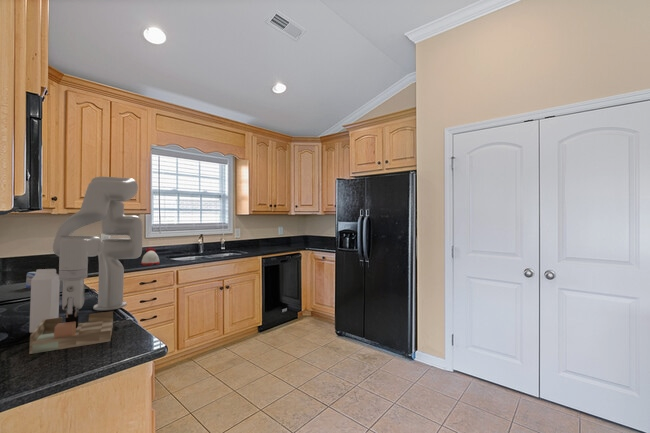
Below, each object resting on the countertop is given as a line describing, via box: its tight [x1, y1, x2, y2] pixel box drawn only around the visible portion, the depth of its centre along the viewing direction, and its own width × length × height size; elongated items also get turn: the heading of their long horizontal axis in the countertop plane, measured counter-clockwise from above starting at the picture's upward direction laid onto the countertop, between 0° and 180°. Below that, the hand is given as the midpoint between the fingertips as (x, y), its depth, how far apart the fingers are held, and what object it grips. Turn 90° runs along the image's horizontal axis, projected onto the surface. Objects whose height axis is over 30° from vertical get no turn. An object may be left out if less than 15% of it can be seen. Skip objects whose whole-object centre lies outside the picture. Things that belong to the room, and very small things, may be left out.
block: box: [54, 321, 76, 338], centre depth 100 cm, size 4×4×4 cm
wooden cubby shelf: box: [28, 310, 114, 355], centre depth 105 cm, size 17×20×6 cm
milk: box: [29, 268, 61, 333], centre depth 113 cm, size 6×6×22 cm
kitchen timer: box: [140, 247, 160, 266], centre depth 272 cm, size 14×14×15 cm
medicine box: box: [25, 271, 36, 289], centre depth 175 cm, size 8×4×9 cm, turn 76°
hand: (71, 328), depth 104 cm, fingers closed
